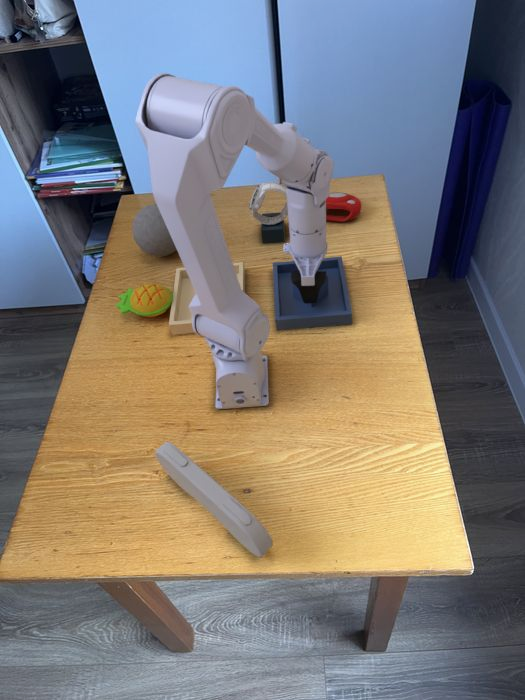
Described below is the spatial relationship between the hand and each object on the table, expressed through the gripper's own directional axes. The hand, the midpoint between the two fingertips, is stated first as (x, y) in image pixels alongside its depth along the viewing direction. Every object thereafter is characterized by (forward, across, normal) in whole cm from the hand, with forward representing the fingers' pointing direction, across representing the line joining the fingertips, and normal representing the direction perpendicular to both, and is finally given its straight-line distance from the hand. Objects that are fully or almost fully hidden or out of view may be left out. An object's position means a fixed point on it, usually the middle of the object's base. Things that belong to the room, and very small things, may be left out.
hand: (310, 288), depth 89 cm
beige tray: (+2, +1, -18) cm, 18 cm away
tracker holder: (+2, -25, +4) cm, 26 cm away
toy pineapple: (+2, +3, -29) cm, 29 cm away
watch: (+2, -18, -8) cm, 20 cm away
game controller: (+2, +39, -12) cm, 41 cm away
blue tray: (+2, 0, 0) cm, 2 cm away
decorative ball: (+2, -14, -30) cm, 33 cm away
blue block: (+2, 0, 0) cm, 2 cm away
